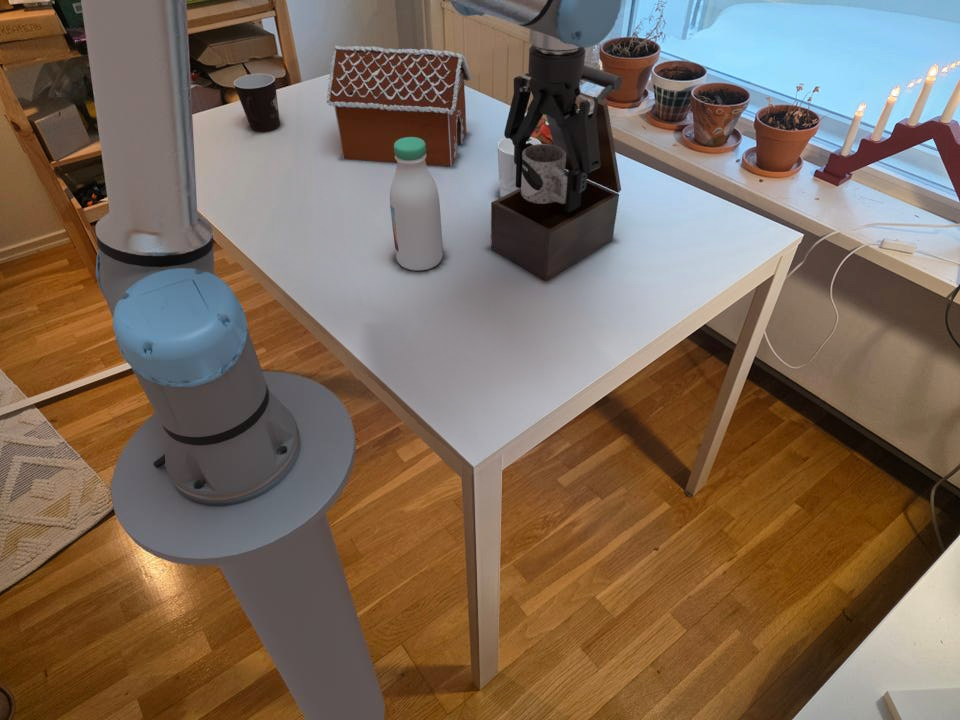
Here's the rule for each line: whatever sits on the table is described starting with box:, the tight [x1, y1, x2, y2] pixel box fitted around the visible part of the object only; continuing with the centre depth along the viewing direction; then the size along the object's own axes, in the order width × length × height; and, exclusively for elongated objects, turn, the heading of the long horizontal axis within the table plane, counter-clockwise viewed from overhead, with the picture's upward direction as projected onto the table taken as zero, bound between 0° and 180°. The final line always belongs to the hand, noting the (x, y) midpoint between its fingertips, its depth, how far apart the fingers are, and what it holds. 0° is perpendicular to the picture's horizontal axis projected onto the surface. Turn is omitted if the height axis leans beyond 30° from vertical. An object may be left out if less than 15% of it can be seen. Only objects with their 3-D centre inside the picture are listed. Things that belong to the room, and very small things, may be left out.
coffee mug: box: [233, 73, 281, 133], centre depth 141 cm, size 12×9×10 cm
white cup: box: [496, 137, 541, 198], centre depth 118 cm, size 8×8×10 cm
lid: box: [545, 64, 623, 194], centre depth 101 cm, size 17×13×7 cm
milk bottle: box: [389, 137, 444, 271], centre depth 100 cm, size 8×8×20 cm
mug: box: [521, 144, 568, 204], centre depth 100 cm, size 10×7×7 cm
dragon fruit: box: [524, 117, 554, 145], centre depth 131 cm, size 8×8×12 cm
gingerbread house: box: [325, 44, 472, 168], centre depth 131 cm, size 18×26×20 cm
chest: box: [490, 169, 620, 282], centre depth 106 cm, size 17×13×9 cm
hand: (547, 196), depth 102 cm, fingers closed on mug, 10 cm apart
